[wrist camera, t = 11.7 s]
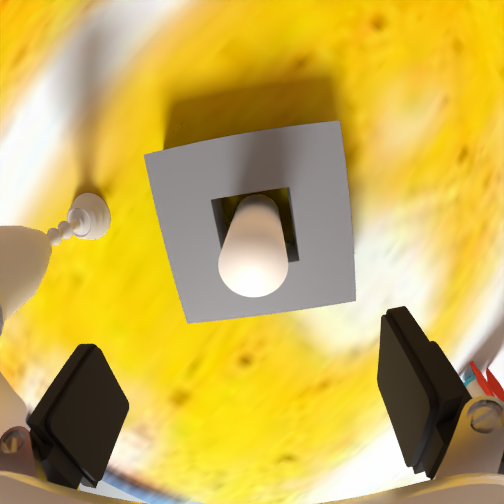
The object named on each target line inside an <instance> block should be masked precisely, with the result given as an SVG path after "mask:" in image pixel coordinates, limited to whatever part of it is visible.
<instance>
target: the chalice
mask: <svg viewBox="0 0 504 504" xmlns="http://www.w3.org/2000/svg"><path fill="white" fill-rule="evenodd" d="M109 225H110V212H109V209H108V206H107V204H106V203H105V202H104V200H103V199H102V198H101V197H99V196H98V195H96V194H93V193H83V194H81V195H79V196H78V197H77V198H76V199H75V200H74V201H73V203H72V205H71V207H70V209H69V211H68V213H67V221H62V222H60V223H59V225H58V229H56V228H51V229H49V230H48V233H47V235H46V234H45V233H43V232H42V231H40V230H36V229H32V228H27V227H23V226H0V336H1V333H2V329H3V326H4V322H5V321H6V320H7V319H8V318H9V317H10V316H11V315H13V314H14V313H15V312H16V311H17V310H18V309H19V308H20V307H22V306H23V305H24V304H25V303H26V302H27V301H28V300H30V299H31V298H32V297H33V296H34V295H35V294H36V292H37V289H38V287H39V285H40V283H41V281H42V279H43V277H44V275H45V272H46V269H47V266H48V263H49V260H50V256H51V253H52V247H51V245H59V244H60V242H61V239H62V238H63V239H70V238H71V237H72V235H73V234H74V235H75V236H76V237H78V238H81V239H91V240H96V239H98V238H101V237H102V236H103V235H104V234H106V232H107V230H108V228H109Z"/></svg>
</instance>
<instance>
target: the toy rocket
mask: <svg viewBox="0 0 504 504" xmlns="http://www.w3.org/2000/svg"><path fill="white" fill-rule="evenodd" d="M470 366H471V368H472V370H473V372H474V375H472V376H471V377H469V378H468V379H467V380H466V381H465V382H464V385H465V387H466V388H467V390H468V392H469V393H470V395H471V396H472V398H475V397H478V396H483V395H486V396H493V397H496V398H499V399H500V400H501V401H503V402H504V390H503V388H502V387H501V385H500V384H499V382H498V381H497V379H496V378H495V377H494V375H493V374H492V373H491V372H490V370H489V369H488V368H487V370H486V375H487V381H486V379H485V378H484V376H483V375H482V373H481V372H480V371H479V370H478V368H477V367H476V366H475V364H474V363H473V362H470Z"/></svg>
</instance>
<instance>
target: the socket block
mask: <svg viewBox="0 0 504 504" xmlns="http://www.w3.org/2000/svg"><path fill="white" fill-rule="evenodd" d="M144 158H145V163H146V168H147V172H148V177H149V181H150V186H151V190H152V195H153V199H154V203H155V208H156V212H157V216H158V220H159V224H160V228H161V232H162V236H163V240H164V244H165V248H166V251H167V255H168V259H169V262H170V266H171V270H172V273H173V277H174V280H175V284H176V287H177V291H178V294H179V298H180V301H181V304H182V308H183V311H184V314H185V318H186V321H187V324H189V323H199V322H209V321H218V320H227V319H235V318H244V317H252V316H260V315H267V314H275V313H282V312H289V311H296V310H303V309H309V308H316V307H322V306H328V305H334V304H340V303H346V302H352V301H356V286H355V263H354V246H353V232H352V219H351V208H350V197H349V187H348V178H347V170H346V161H345V154H344V146H343V139H342V132H341V125H340V121H330V122H320V123H311V124H303V125H295V126H287V127H280V128H273V129H267V130H260V131H254V132H248V133H242V134H237V135H231V136H226V137H221V138H215V139H210V140H206V141H201V142H196V143H191V144H187V145H182V146H178V147H174V148H169V149H165V150H161V151H157V152H153V153H149V154H145V155H144ZM285 187H287V194H288V200H289V207H290V214H291V221H292V228H293V236H294V241H292V242H285V247H286V253H287V258H288V272H287V275H286V278H285V280H284V282H283V283H282V284H281V286H280V287H279V288H277V289H276V290H275V291H273V292H272V293H270V294H268V295H265V296H261V297H246V296H242V295H240V294H237V293H236V292H234V291H232V290H231V289H230V288H229V287H228V286H227V285H226V284H225V283H224V282H223V280H222V278H221V276H220V273H219V268H218V261H219V256H220V253H221V250H222V247H223V244H224V242H225V239H226V236H227V233H228V230H227V225H226V220H225V215H224V210H223V205H222V200H221V198H223V197H229V196H234V195H240V194H246V193H253V192H259V191H265V190H272V189H278V188H285Z"/></svg>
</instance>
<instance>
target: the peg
mask: <svg viewBox="0 0 504 504" xmlns="http://www.w3.org/2000/svg"><path fill="white" fill-rule="evenodd" d="M218 268H219V273H220V276H221V278H222V280H223V282H224V283H225V284H226V285H227V286H228V287H229V288H230V289H231V290H232V291H234V292H236V293H237V294H240V295H242V296H246V297H261V296H265V295H268V294H270V293H272V292H273V291H275V290H276V289H277V288H279V287H280V286H281V284H282V283H283V282H284V280H285V278H286V275H287V272H288V258H287V253H286V247H285V242H284V236H283V231H282V226H281V220H280V215H279V210H278V207H277V205H276V203H275V202H274V201H273V200H272V199H271V198H269V197H268V196H265V195H262V194H252V195H249V196H247V197H245V198H244V199H243V200H241V202H240V203H239V204H238V206H237V209H236V211H235V214H234V217H233V220H232V222H231V225H230V228H229V231H228V233H227V236H226V239H225V242H224V244H223V247H222V250H221V253H220V256H219V261H218Z"/></svg>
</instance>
